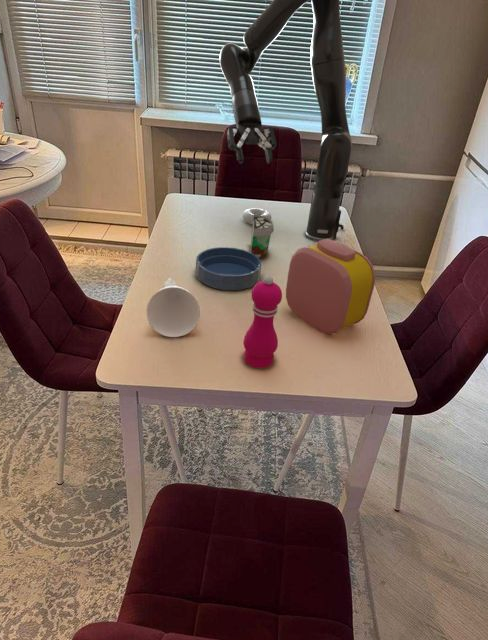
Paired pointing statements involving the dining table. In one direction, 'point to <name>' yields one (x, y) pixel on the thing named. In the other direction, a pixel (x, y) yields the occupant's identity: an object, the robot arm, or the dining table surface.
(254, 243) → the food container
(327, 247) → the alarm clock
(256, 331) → the pepper mill
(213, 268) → the bowl
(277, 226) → the dining table surface
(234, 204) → the dining table surface
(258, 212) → the donut
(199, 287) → the dining table surface
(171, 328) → the rocket engine
